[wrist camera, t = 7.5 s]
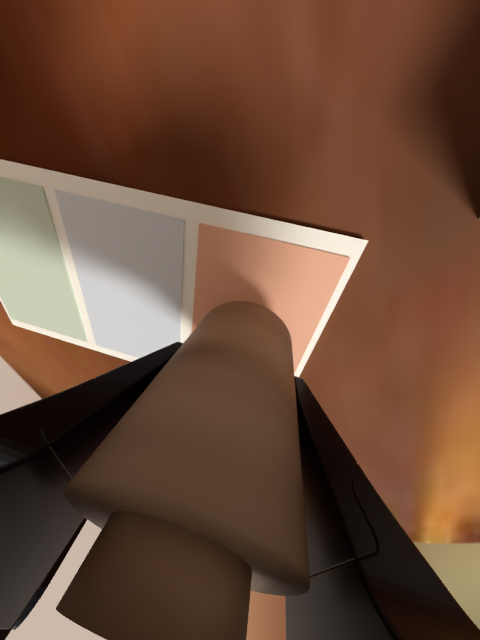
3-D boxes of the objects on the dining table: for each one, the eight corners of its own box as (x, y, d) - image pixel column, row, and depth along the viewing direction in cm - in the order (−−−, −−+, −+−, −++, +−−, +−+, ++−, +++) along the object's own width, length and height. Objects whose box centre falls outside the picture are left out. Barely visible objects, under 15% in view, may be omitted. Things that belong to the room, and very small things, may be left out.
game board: (282, 405, 14) (282, 409, 14) (17, 323, 16) (11, 325, 16) (365, 240, 8) (369, 241, 8) (-75, 142, 10) (-88, 139, 10)
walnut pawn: (275, 388, 11) (262, 687, 4) (196, 364, 11) (55, 595, 4) (307, 317, 8) (434, 805, 1) (203, 289, 9) (-109, 553, 2)
